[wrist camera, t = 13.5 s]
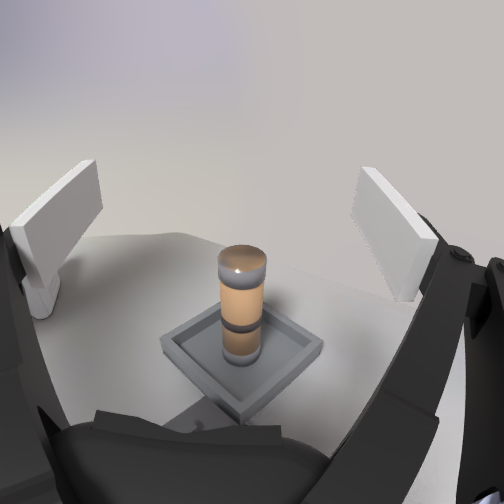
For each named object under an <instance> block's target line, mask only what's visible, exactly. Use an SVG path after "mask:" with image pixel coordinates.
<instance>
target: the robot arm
mask: <svg viewBox="0 0 504 504" xmlns="http://www.w3.org/2000/svg"><path fill="white" fill-rule="evenodd" d="M102 209H103V205H102V199H101V193H100V187H99V180H98V174H97V166H96V160H83V161H82V162H80V163H79V164H78V165H77V166H75V167H74V168H73V169H72V170H70V171H69V172H68V173H67V174H65V175H64V176H63V177H62V178H61V179H60V180H58V181H57V182H56V183H55V184H54V185H52V186H51V187H50V188H49V189H48V190H47V191H46V192H44V193H43V194H42V195H41V196H40V197H39V198H38V199H37V200H35V201H34V202H33V203H32V204H31V205H30V206H29V207H28V208H27V209H26V210H25V211H24V212H23V213H22V214H21V215H20V216H18V217H17V218H16V219H15V220H14V221H13V222H12V223H11V224H10V225H9V227H8V228H7V229H6V230H5V231H4V232H3V231H2V228H1V225H0V504H402V502H403V501H404V499H405V497H406V495H407V493H408V491H409V490H410V488H411V486H412V484H413V482H414V480H415V478H416V476H417V474H418V472H419V470H420V468H421V466H422V463H423V461H424V459H425V457H426V455H427V452H428V450H429V448H430V446H431V443H432V441H433V438H434V436H435V434H436V431H437V428H438V425H439V417H437V416H435V413H436V410H437V407H438V404H439V402H440V399H441V396H442V393H443V391H444V388H445V385H446V382H447V379H448V376H449V373H450V369H451V366H452V363H453V360H454V356H455V353H456V349H457V346H458V342H459V338H460V334H461V330H462V326H463V322H464V337H465V359H466V399H465V420H464V434H463V445H462V454H461V462H460V469H459V476H458V484H457V492H456V504H504V260H503V259H500V258H497V257H495V258H491V260H490V261H489V264H488V266H487V268H486V267H483V266H479V265H476V264H475V262H474V258H473V257H472V255H471V254H469V253H468V252H467V251H465V250H464V249H462V248H460V247H457V246H454V245H448V244H447V242H446V241H445V240H444V239H443V237H442V236H441V235H440V234H439V233H438V232H437V230H436V229H435V228H434V227H432V224H431V223H430V222H429V221H428V220H427V219H426V218H424V217H423V216H422V215H420V214H419V213H416V212H415V211H414V209H413V208H412V207H411V206H410V205H409V204H408V203H407V202H406V200H405V199H404V198H403V197H402V196H401V195H400V194H399V193H398V192H397V191H396V190H395V188H394V187H393V186H392V185H391V184H390V183H389V182H388V181H387V180H386V179H385V178H384V177H383V176H382V175H381V174H380V173H379V172H378V171H377V170H376V169H375V168H372V167H364V166H361V167H360V172H359V178H358V182H357V188H356V193H355V198H354V202H353V207H352V212H351V217H352V218H353V220H354V222H355V224H356V225H357V227H358V229H359V231H360V233H361V234H362V236H363V238H364V240H365V242H366V244H367V245H368V247H369V249H370V251H371V253H372V255H373V257H374V259H375V261H376V262H377V264H378V266H379V268H380V270H381V272H382V274H383V276H384V278H385V280H386V282H387V284H388V286H389V288H390V290H391V292H392V294H393V296H394V299H395V301H396V302H413V301H414V299H415V297H416V295H417V292H418V290H419V289H420V291H421V293H422V295H423V298H422V300H421V302H420V304H419V306H418V308H417V310H416V312H415V315H414V317H413V320H412V322H411V324H410V326H409V328H408V330H407V332H406V334H405V336H404V338H403V340H402V342H401V344H400V346H399V348H398V350H397V352H396V354H395V356H394V357H393V359H392V361H391V363H390V365H389V367H388V369H387V370H386V372H385V374H384V376H383V378H382V379H381V381H380V383H379V384H378V386H377V388H376V390H375V391H374V393H373V395H372V396H371V398H370V400H369V401H368V403H367V405H366V406H365V408H364V409H363V411H362V413H361V414H360V416H359V417H358V419H357V420H356V422H355V423H354V425H353V426H352V428H351V429H350V431H349V432H348V434H347V435H346V437H345V438H344V440H343V441H342V442H341V444H340V445H339V447H338V448H337V449H336V451H335V452H334V453H333V455H332V456H331V457H330V459H329V458H328V457H327V456H325V455H324V454H322V453H321V452H320V451H318V450H316V449H314V448H313V447H311V446H309V445H306V444H304V443H302V442H299V441H296V440H293V439H289V438H285V437H281V425H275V426H242V425H232V426H227V427H222V428H216V429H210V430H204V431H198V432H191V433H180V432H177V431H174V430H171V429H168V428H165V427H162V426H160V425H157V424H154V423H152V422H149V421H146V420H144V419H141V418H139V417H134V416H128V415H122V414H116V413H110V412H105V411H100V410H97V411H96V414H95V418H94V422H86V423H81V424H77V425H74V426H70V424H69V422H68V421H67V418H66V416H65V414H64V412H63V409H62V407H61V405H60V402H59V400H58V397H57V395H56V392H55V389H54V387H53V384H52V382H51V379H50V376H49V373H48V370H47V367H46V365H45V362H44V359H43V355H42V352H41V349H40V346H39V343H38V339H37V336H36V332H35V329H34V325H33V321H32V318H31V314H30V310H29V305H28V301H27V297H26V292H25V288H24V286H23V284H22V280H23V279H24V277H25V276H27V279H28V281H29V284H30V286H31V287H32V288H41V289H46V287H47V286H48V284H49V283H50V281H51V280H52V278H53V277H54V275H55V274H56V272H57V271H58V269H59V268H60V266H61V265H62V263H63V262H64V260H65V259H66V257H67V256H68V254H69V253H70V252H71V250H72V249H73V247H74V246H75V245H76V243H77V242H78V240H79V239H80V238H81V236H82V235H83V234H84V232H85V231H86V230H87V228H88V227H89V226H90V224H91V223H92V222H93V220H94V219H95V218H96V216H97V215H98V214H99V213H100V211H101V210H102Z"/></svg>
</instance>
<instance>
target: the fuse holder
mask: <svg viewBox="0 0 504 504" xmlns="http://www.w3.org/2000/svg"><path fill="white" fill-rule="evenodd" d="M232 425H238V424H237V423H236V422H235V421H234V420H232V419H231V418H230V417H229V416H228V415H227V414H226V413H225V412H223V411H222V410H221V409H220V408H219V407H218V406H217V405H216V404H215V403H214V402H212V401H211V400H210V399H209V398H208V397H207V396H205V397H204V398H202V399H201V400H199V401H198V402H197V403H195V404H194V405H192V406H191V407H189V408H188V409H187V410H185V411H184V412H182V413H181V414H179V415H178V416H176V417H175V418H173V419H172V420H170V421H169V422H167V423H166V424H164V425H163V426H162V427H165V428H168V429H171V430H174V431H177V432H180V433H191V432H198V431H204V430H210V429H216V428H222V427H227V426H232Z"/></svg>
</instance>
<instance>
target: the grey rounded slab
mask: <svg viewBox="0 0 504 504" xmlns="http://www.w3.org/2000/svg"><path fill="white" fill-rule="evenodd" d="M22 284H23V286H24V288H25V292H26V297H27V301H28V305H29V310H30V314H31V315H32V317H35V318H36V319H44V318H47V317H48V316H49V315H50V314H51V313H52V310H53V307H54V304H55V301H56V298H57V294H58V291H59V287H60V277H59V274H58V271H57V272H56V274H55V275H54V277H53V278H52V280H51V281H50V283H49V284H48V286H47V287H46V289H41V288H32V287H31V286H30V284H29V281H28V279H27V276H25V277H24V279H23V280H22Z"/></svg>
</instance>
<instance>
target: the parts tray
mask: <svg viewBox="0 0 504 504" xmlns="http://www.w3.org/2000/svg"><path fill="white" fill-rule="evenodd" d="M262 311H263V313H262V323H261V335H260V340H261V347H260V356H259V358H258V360H257V361H256V362H255V363H253V364H252V365H249V366H246V367H237V366H233V365H231V364H229V363H228V362H227V361H226V360H225V359H224V357H223V354H222V322H221V301H220V302H219V303H217V304H215V305H214V306H212V307H211V308H209V309H207V310H206V311H204V312H202V313H201V314H199V315H197V316H196V317H194V318H192V319H191V320H189V321H187V322H186V323H184V324H182V325H180V326H179V327H177V328H175V329H174V330H172V331H170V332H169V333H167V334H165V335H164V336H162V337H160V342H161V346H162V349H163V353H164V354H165V355H166V356H167V357H168V358H169V359H170V361H171V362H172V363H173V364H174V365H175V366H176V367H177V368H178V369H179V370H180V371H181V372H182V373H183V374H184V375H185V376H186V377H187V378H188V379H189V380H190V381H191V382H192V383H193V384H194V385H196V386H197V387H198V388H199V389H200V390H201V391H202V392H203V393H204V394H205V395H206V396H207V397H208V398H209V399H210V400H211V401H212V402H214V403H215V404H216V405H217V406H218V407H219V408H220V409H221V410H222V411H223V412H225V413H226V414H227V415H228V416H229V417H230V418H231V419H232V420H234V421H235V422H236V423H237V424H238V425H243V424H244V423H245V422H246V421H248V420H249V419H250V418H251V417H252V416H254V415H255V414H256V413H257V412H258V411H259V410H261V409H262V408H263V407H264V406H265V405H266V404H268V403H269V402H270V401H271V400H272V399H273V398H274V397H276V396H277V395H278V394H279V393H280V392H281V391H282V390H283V389H284V388H286V387H287V386H288V385H289V384H290V383H291V382H292V381H293V380H294V379H295V378H296V377H297V376H299V375H300V374H301V373H302V372H303V371H304V370H305V369H306V368H307V367H308V366H309V365H310V364H311V363H312V362H313V361H314V360H315V359H316V358H317V357H318V356H319V354H320V351H321V347H322V344H323V340H322V339H320V338H318V337H317V336H315V335H314V334H312V333H311V332H309V331H307V330H306V329H304V328H303V327H301V326H300V325H298V324H296V323H295V322H293V321H292V320H290V319H289V318H287V317H286V316H284V315H282V314H281V313H279V312H278V311H276V310H275V309H273V308H272V307H270V306H269V305H267V304H265V303H264V302H263V306H262Z"/></svg>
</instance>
